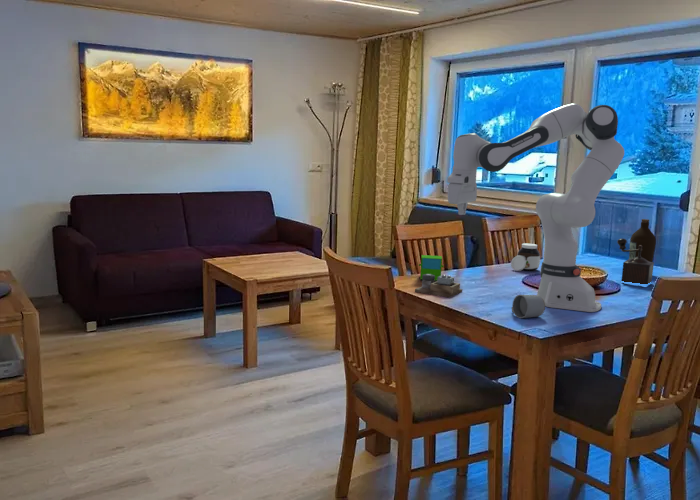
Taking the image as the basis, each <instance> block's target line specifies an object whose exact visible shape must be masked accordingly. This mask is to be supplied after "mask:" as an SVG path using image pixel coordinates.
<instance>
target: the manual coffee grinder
mask: <svg viewBox="0 0 700 500" xmlns="http://www.w3.org/2000/svg"><path fill="white" fill-rule="evenodd" d="M627 243H628V241H627V239H626V238H619V239H617V245H618V246H619V248H618V249H619V250H621V252H624V253H625V252H626V253H629V252H634V251H639V254H638V257H635V258H632V259H629V258H628V259H626V260H625V261H623V263H622V272H621V273H622V274H621V281H624V282H632V283H640V284H648V283H650V282H651V281H652V280H653V275H654V274H653V271H654V267H655V265H654V264H655V262H649V261H647V260H646V259H644V258H642V256H641V250H642V245H639V248H638V249H636V250H630V249H627V247H626V244H627ZM621 281H620V282H621ZM651 283H652V282H651Z"/></svg>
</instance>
